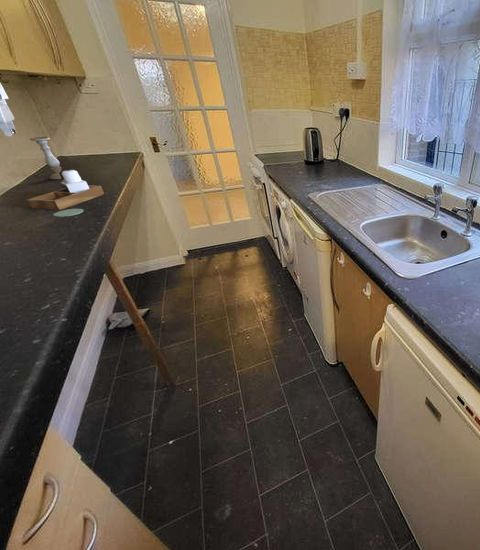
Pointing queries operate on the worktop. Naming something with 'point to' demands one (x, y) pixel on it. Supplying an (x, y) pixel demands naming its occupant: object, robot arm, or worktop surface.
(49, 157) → the candle holder
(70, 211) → the mat
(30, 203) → the tray
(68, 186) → the medicine bottle
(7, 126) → the robot arm
